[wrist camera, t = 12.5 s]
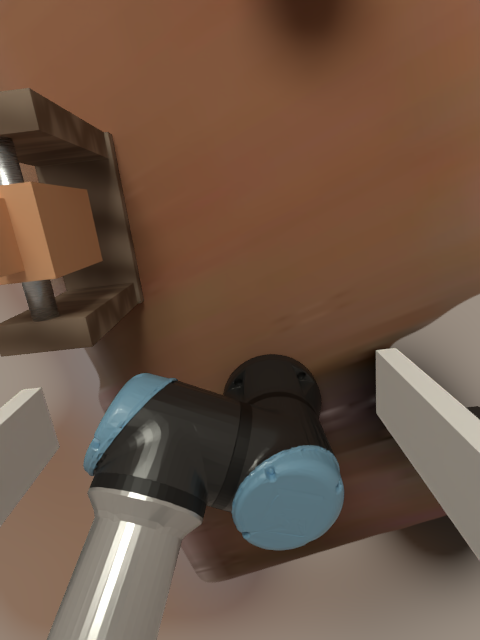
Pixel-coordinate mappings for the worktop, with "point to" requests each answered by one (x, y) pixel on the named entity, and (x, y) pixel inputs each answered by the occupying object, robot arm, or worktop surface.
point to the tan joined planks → (45, 232)
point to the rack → (109, 218)
